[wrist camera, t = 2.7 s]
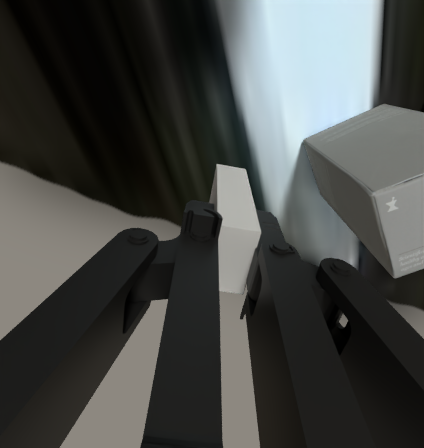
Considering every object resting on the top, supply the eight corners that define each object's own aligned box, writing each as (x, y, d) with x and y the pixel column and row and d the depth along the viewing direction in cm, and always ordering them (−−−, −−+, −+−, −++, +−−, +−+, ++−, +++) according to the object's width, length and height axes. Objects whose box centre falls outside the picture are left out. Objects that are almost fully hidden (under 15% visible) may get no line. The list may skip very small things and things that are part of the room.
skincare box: (318, 193, 35) (387, 292, 21) (298, 130, 32) (364, 197, 18) (401, 161, 33) (536, 247, 19) (388, 91, 30) (539, 133, 16)
